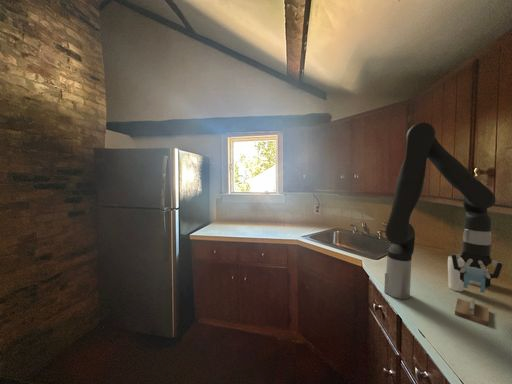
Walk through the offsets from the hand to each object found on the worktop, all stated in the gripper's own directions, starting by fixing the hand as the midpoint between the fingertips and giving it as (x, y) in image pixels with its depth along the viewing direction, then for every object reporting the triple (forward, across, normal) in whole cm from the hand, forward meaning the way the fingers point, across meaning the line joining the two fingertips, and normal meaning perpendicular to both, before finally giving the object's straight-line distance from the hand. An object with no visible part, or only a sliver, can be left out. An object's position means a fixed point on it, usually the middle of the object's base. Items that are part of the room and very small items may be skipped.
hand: (474, 283), depth 84 cm
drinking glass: (+12, +6, -19) cm, 24 cm away
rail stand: (+12, 0, 0) cm, 12 cm away
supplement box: (+12, +3, -34) cm, 36 cm away
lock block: (+1, 0, 0) cm, 1 cm away
